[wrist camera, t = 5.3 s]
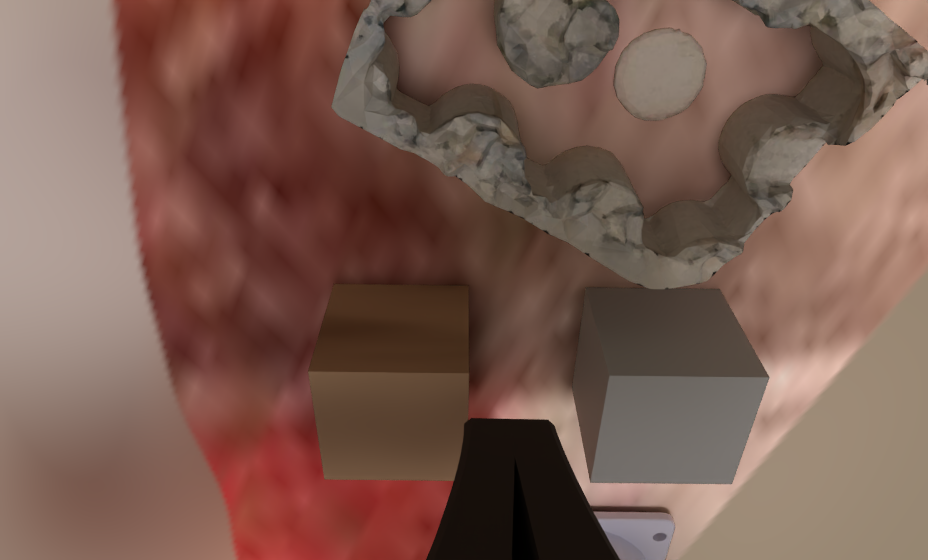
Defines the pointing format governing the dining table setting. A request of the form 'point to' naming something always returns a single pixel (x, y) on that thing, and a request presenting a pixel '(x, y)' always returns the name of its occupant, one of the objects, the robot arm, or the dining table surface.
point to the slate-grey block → (664, 386)
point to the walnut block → (392, 381)
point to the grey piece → (646, 97)
